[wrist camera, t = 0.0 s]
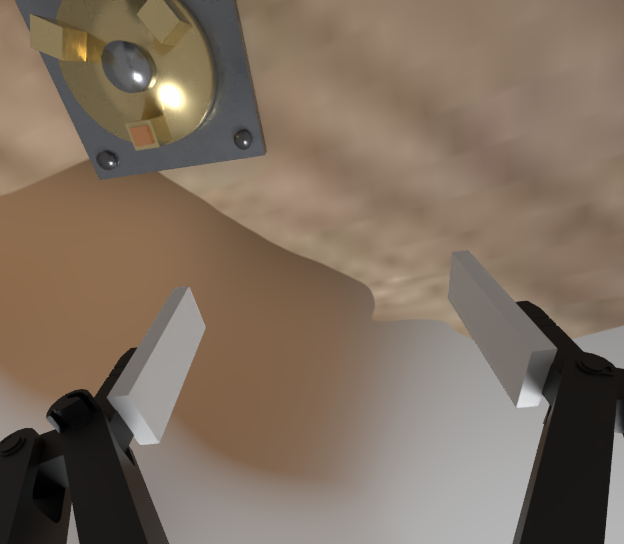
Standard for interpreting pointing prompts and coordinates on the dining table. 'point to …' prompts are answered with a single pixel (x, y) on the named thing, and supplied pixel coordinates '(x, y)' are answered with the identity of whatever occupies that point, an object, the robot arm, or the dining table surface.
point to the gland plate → (211, 133)
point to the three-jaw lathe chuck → (133, 65)
